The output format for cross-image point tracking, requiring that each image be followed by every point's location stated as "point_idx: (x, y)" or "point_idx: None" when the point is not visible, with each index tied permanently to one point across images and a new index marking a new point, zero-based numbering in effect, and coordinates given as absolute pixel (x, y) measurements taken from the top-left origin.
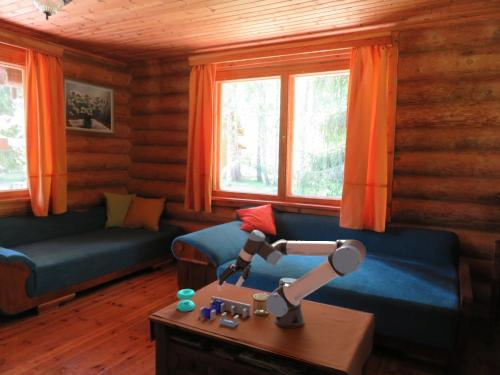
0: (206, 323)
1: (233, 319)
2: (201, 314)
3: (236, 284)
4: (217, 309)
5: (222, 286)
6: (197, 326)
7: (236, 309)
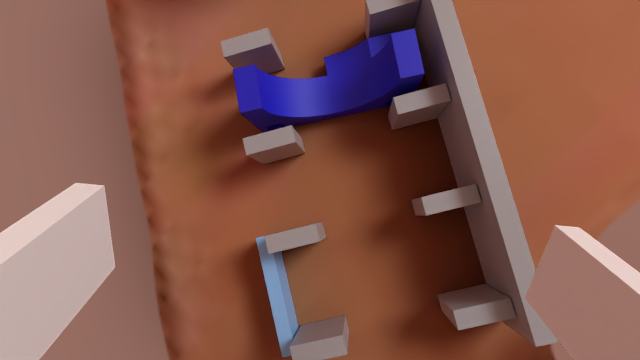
0: (213, 165)
1: (291, 343)
2: None
3: (572, 251)
4: (366, 99)
5: (32, 354)
6: (152, 153)
7: (471, 205)
